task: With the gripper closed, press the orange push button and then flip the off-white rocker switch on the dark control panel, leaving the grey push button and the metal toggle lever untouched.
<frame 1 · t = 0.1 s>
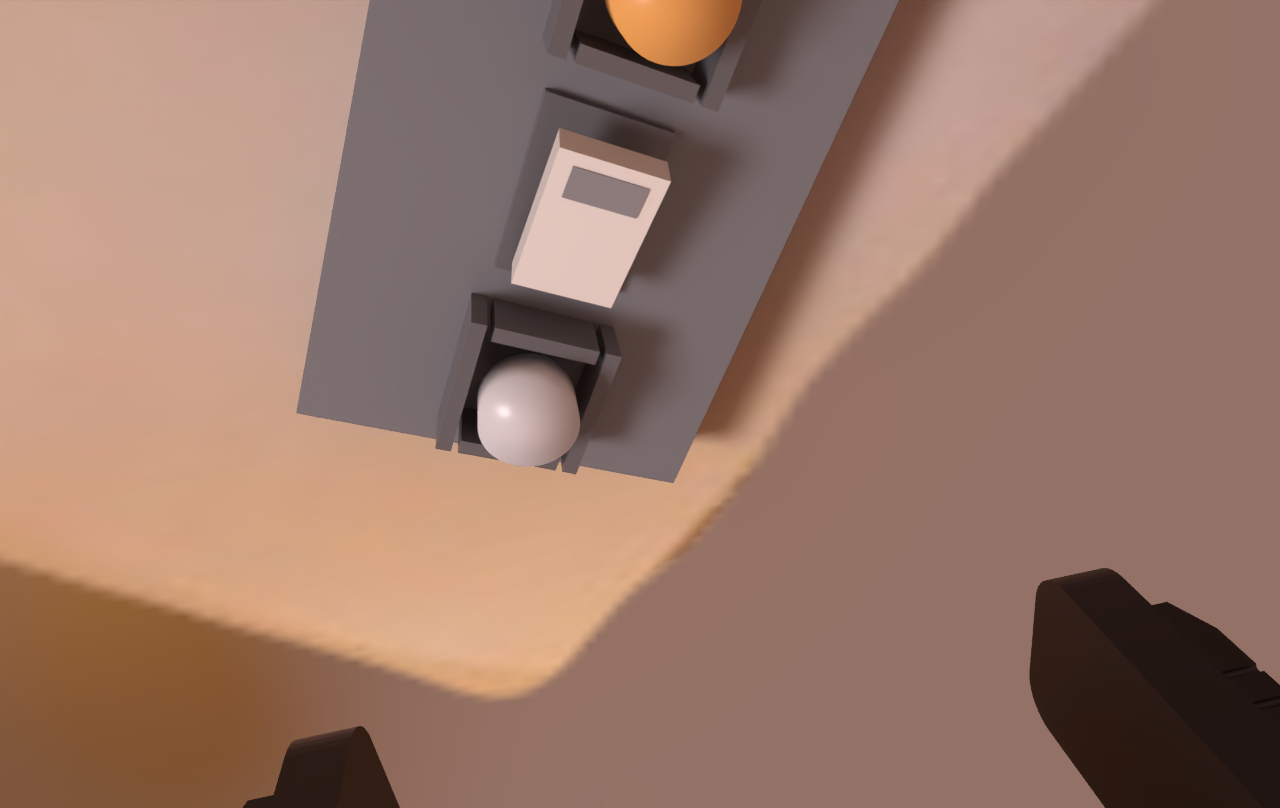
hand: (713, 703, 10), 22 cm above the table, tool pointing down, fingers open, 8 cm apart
rocker switch: (587, 225, 25), point 5 cm above the table, hinge at 14.0°
control panel: (605, 62, 27), on the table
grey button: (527, 410, 27), point 5 cm above the table, slide at 0.0 cm
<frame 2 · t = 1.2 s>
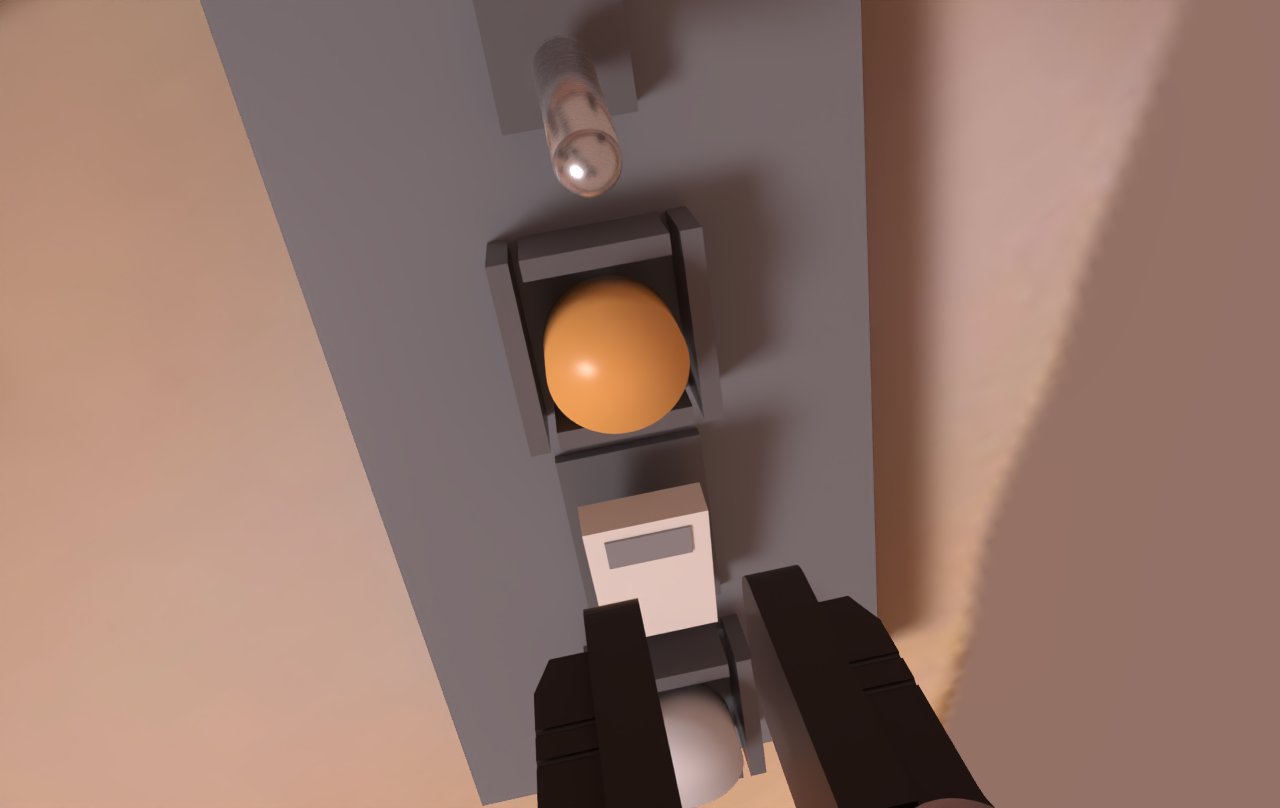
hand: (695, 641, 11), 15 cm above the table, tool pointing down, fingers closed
rocker switch: (651, 568, 23), point 5 cm above the table, hinge at 14.0°
control panel: (610, 374, 26), on the table
orange button: (614, 354, 20), point 5 cm above the table, slide at 0.0 cm
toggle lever: (574, 110, 16), point 7 cm above the table, hinge at 20.0°
grey button: (684, 745, 25), point 5 cm above the table, slide at 0.0 cm
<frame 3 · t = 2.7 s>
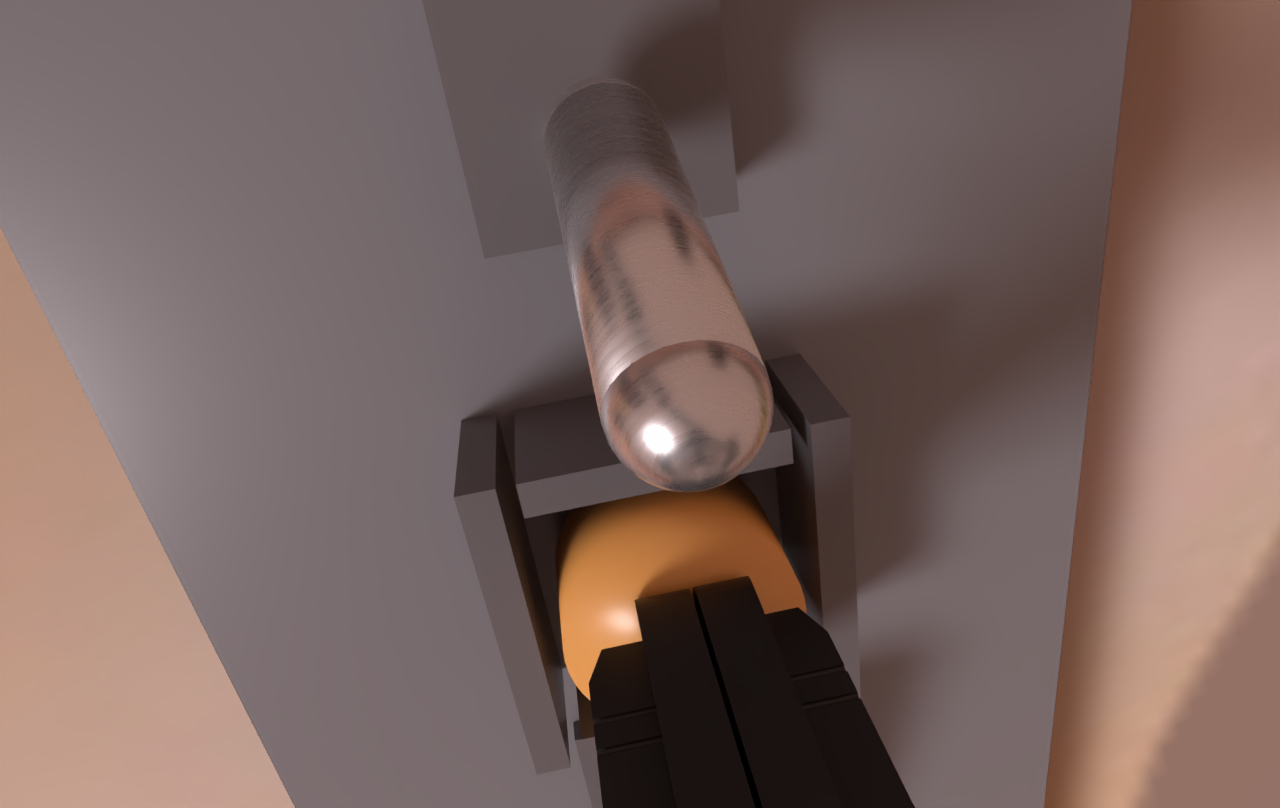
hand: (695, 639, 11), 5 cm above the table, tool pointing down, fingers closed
control panel: (653, 561, 17), on the table
orange button: (674, 590, 12), point 5 cm above the table, slide at 0.8 cm, touching gripper
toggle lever: (638, 251, 7), point 7 cm above the table, hinge at 20.0°
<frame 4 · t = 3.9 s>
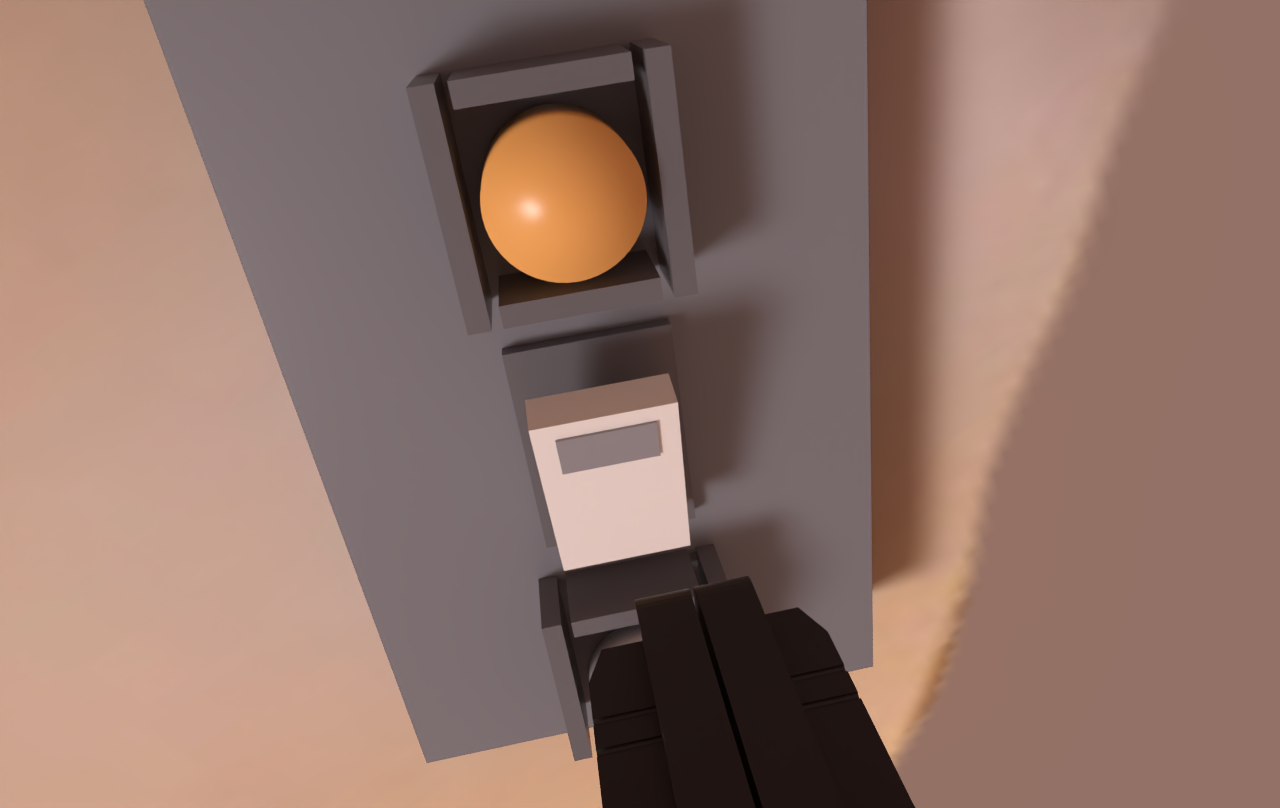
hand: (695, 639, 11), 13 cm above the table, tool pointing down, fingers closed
rocker switch: (613, 478, 20), point 5 cm above the table, hinge at 14.0°
control panel: (570, 266, 22), on the table
orange button: (561, 192, 17), point 4 cm above the table, slide at 0.9 cm
grey button: (651, 690, 22), point 5 cm above the table, slide at 0.0 cm
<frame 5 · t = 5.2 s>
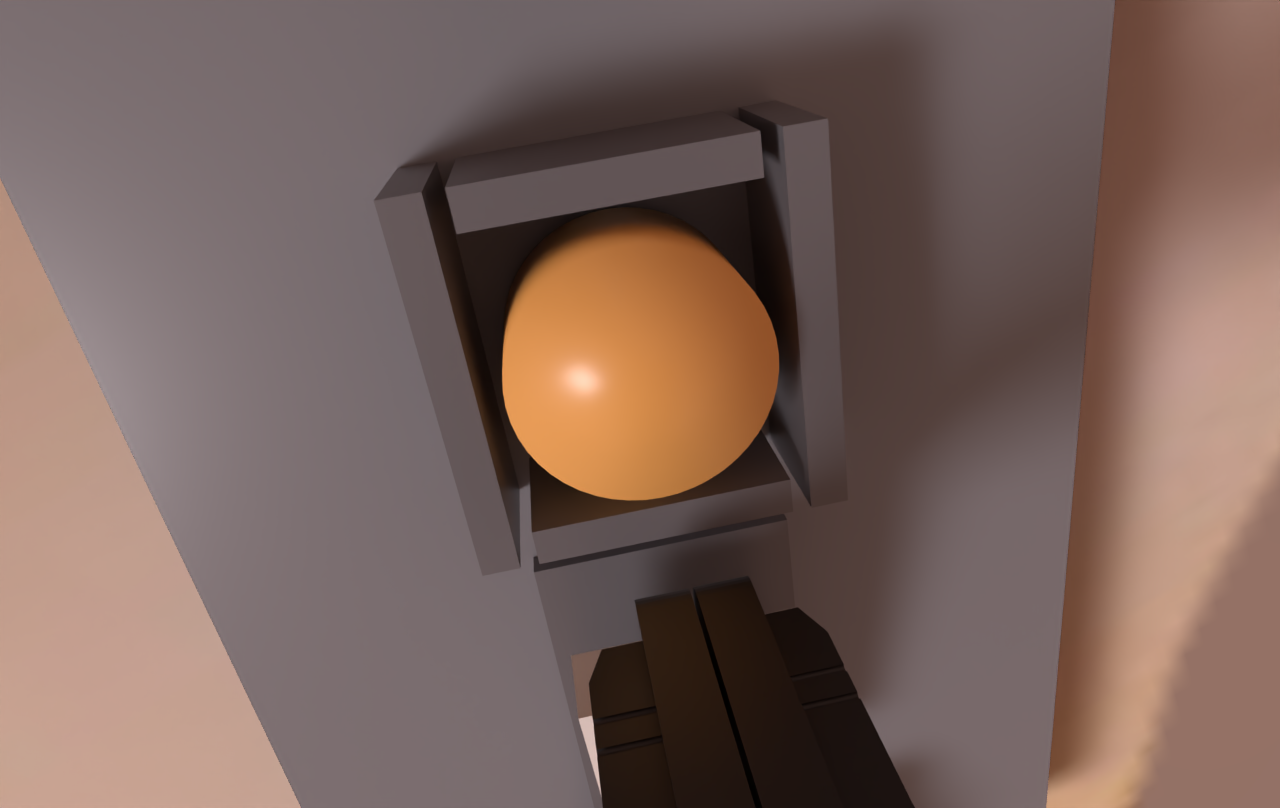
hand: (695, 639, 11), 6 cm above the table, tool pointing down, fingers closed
rocker switch: (703, 756, 13), point 5 cm above the table, hinge at 11.6°, touching gripper
control panel: (627, 411, 16), on the table
orange button: (633, 351, 11), point 4 cm above the table, slide at 0.9 cm
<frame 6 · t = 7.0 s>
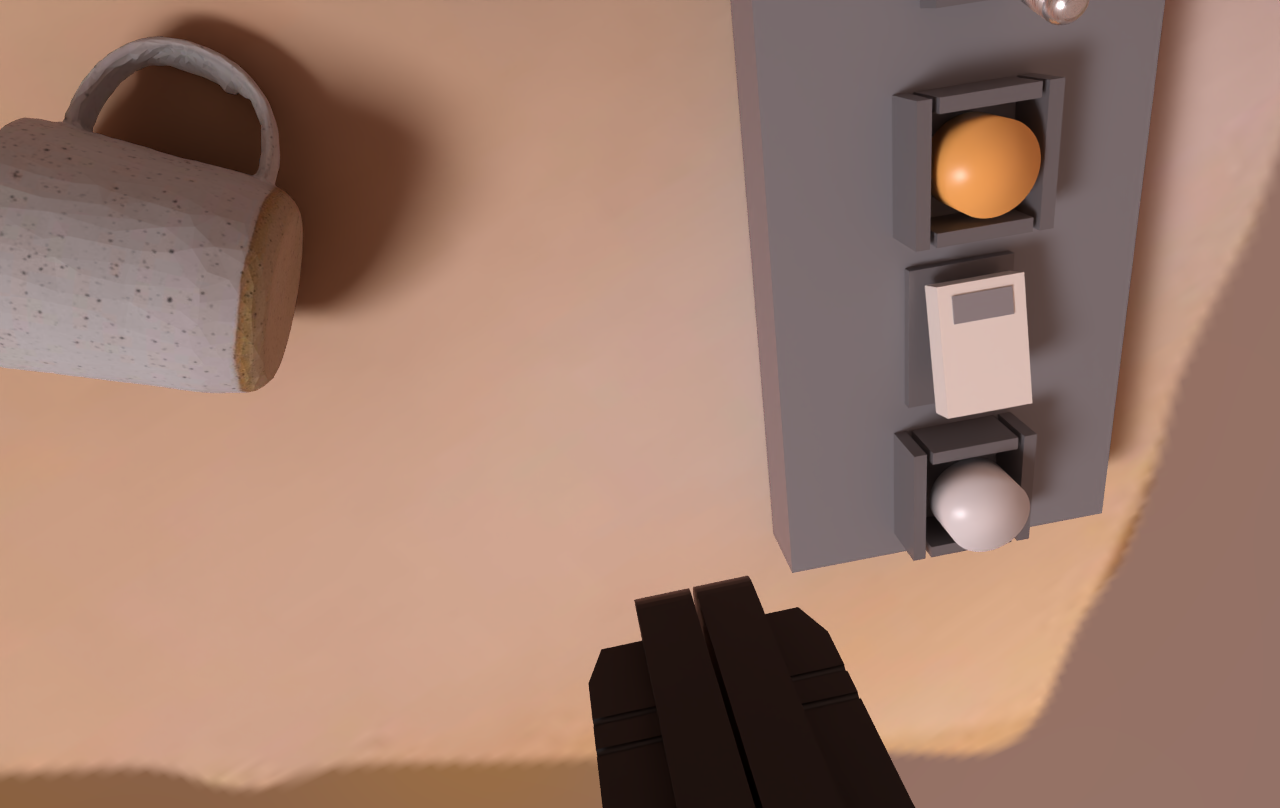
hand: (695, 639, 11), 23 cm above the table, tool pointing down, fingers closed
rocker switch: (979, 344, 31), point 5 cm above the table, hinge at -13.5°
control panel: (922, 222, 34), on the table
orange button: (980, 164, 28), point 4 cm above the table, slide at 0.9 cm
ceramic mug: (187, 200, 30), on the table
grey button: (978, 504, 33), point 5 cm above the table, slide at 0.0 cm
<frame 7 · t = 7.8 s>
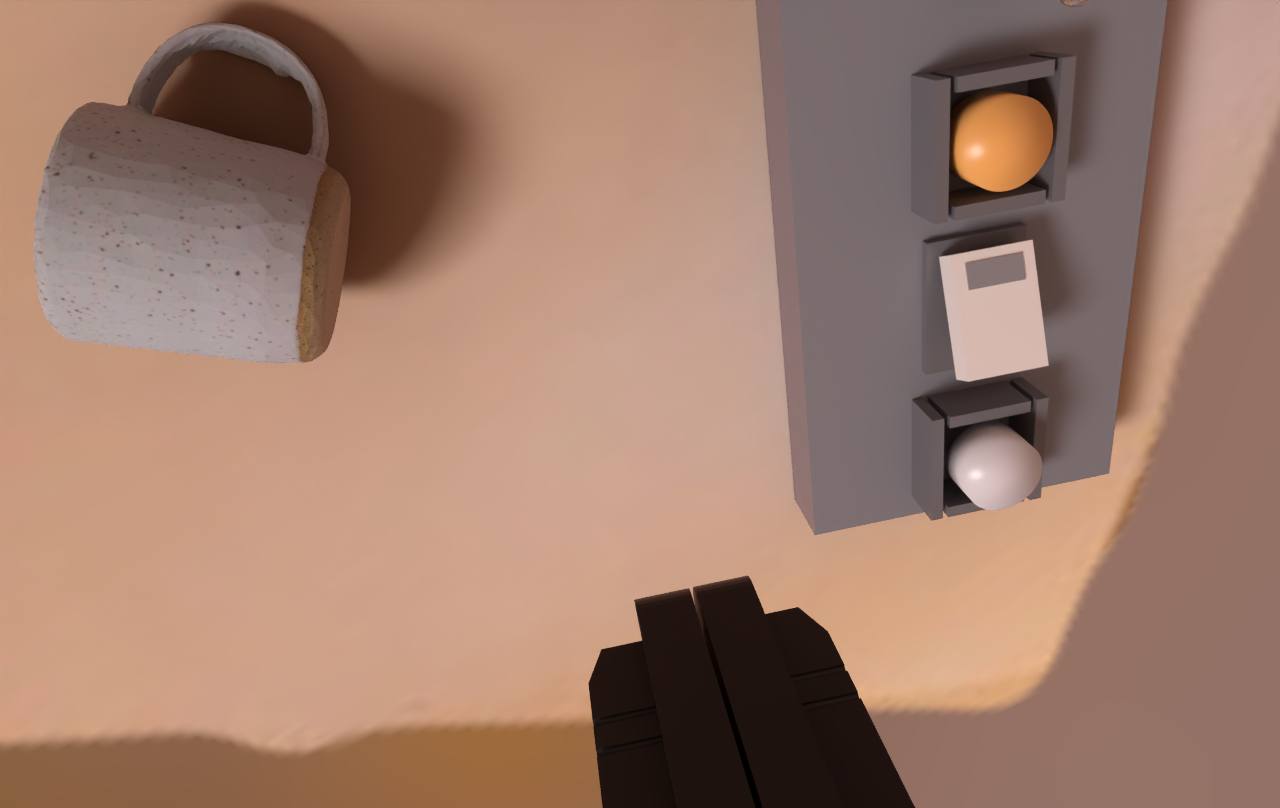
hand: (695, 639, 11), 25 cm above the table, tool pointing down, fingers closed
rocker switch: (994, 311, 32), point 5 cm above the table, hinge at -19.9°
control panel: (937, 196, 35), on the table
orange button: (995, 140, 30), point 4 cm above the table, slide at 0.9 cm
ceramic mug: (238, 181, 32), on the table
grey button: (993, 465, 35), point 5 cm above the table, slide at 0.0 cm
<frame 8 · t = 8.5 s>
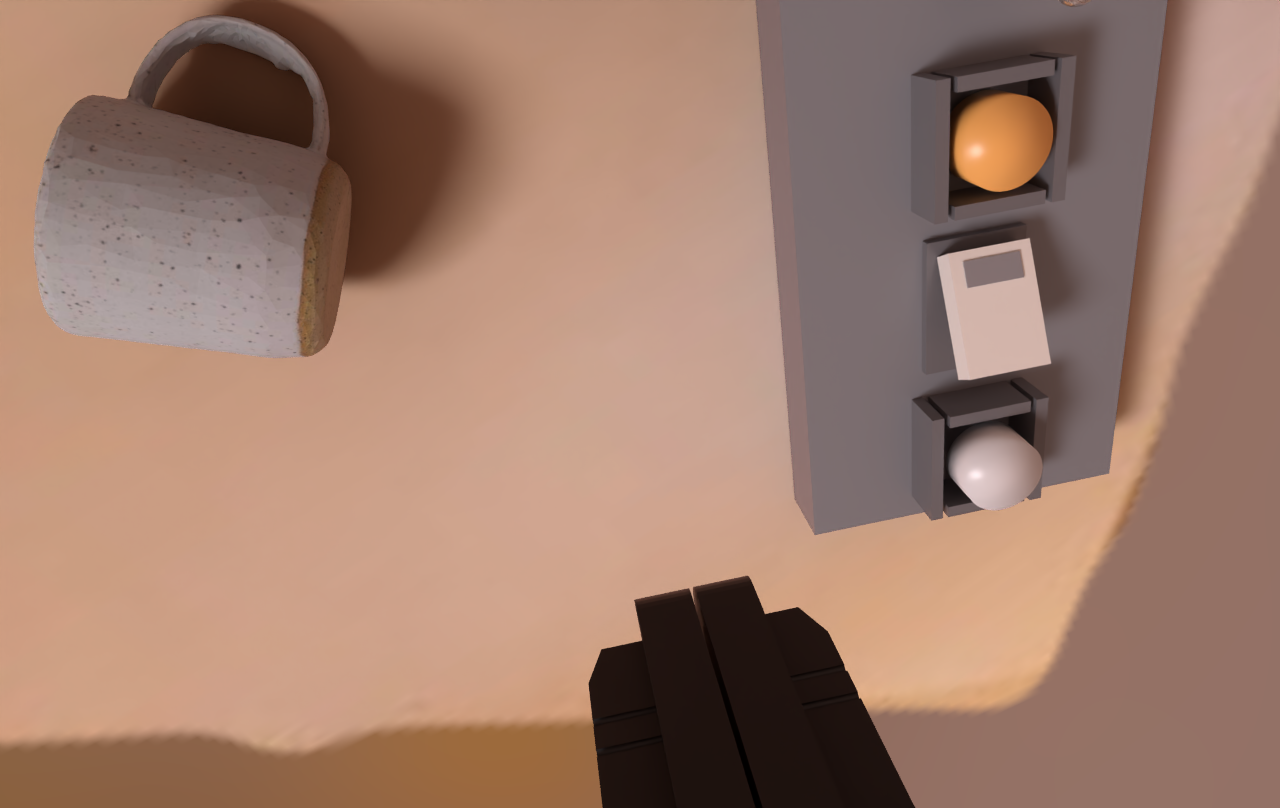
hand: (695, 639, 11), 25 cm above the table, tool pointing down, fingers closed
rocker switch: (993, 309, 32), point 5 cm above the table, hinge at -24.4°
control panel: (937, 196, 35), on the table
orange button: (995, 140, 30), point 4 cm above the table, slide at 0.9 cm
ceramic mug: (238, 175, 31), on the table
grey button: (993, 465, 35), point 5 cm above the table, slide at 0.0 cm
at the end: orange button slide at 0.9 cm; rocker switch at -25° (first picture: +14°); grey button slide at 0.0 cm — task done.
